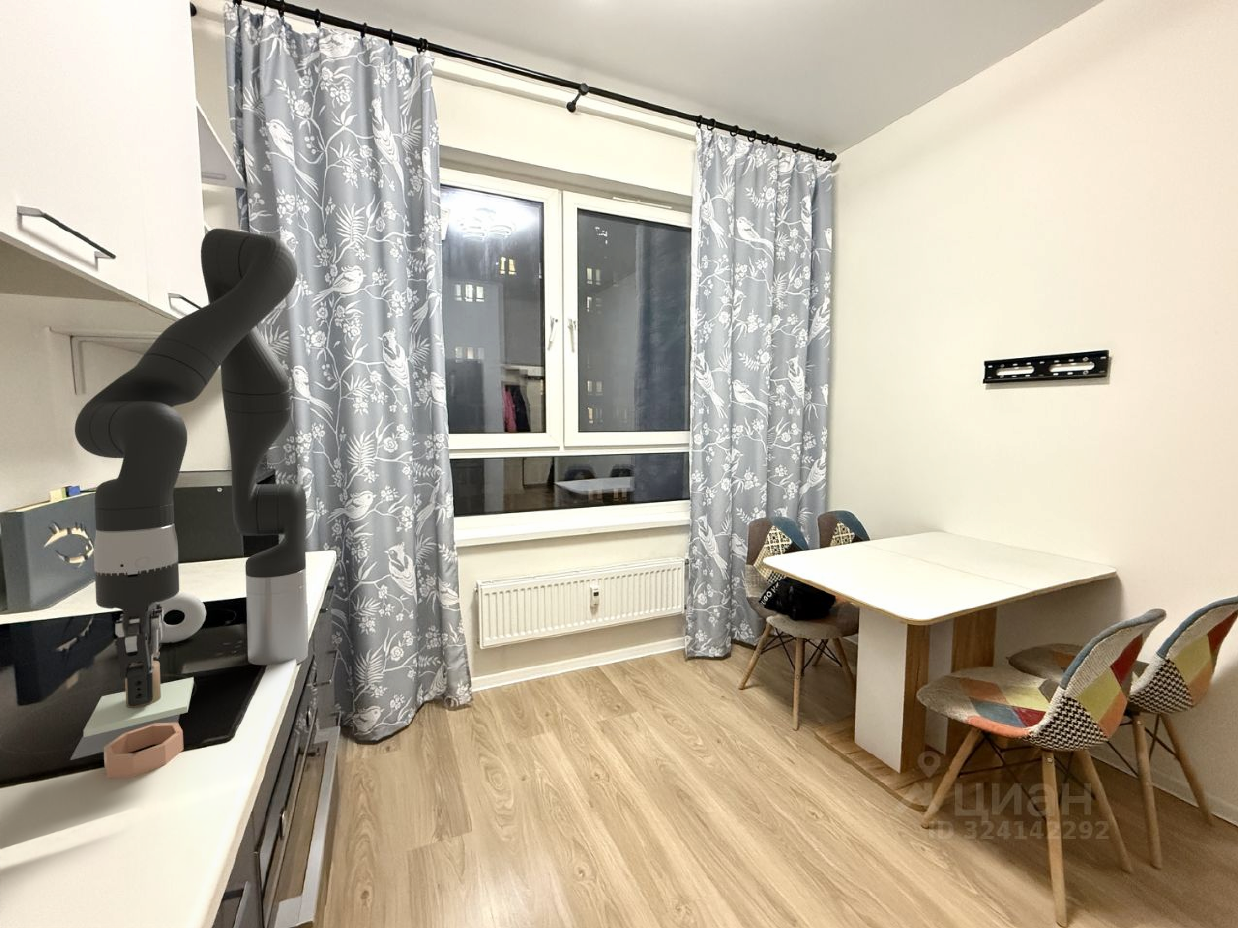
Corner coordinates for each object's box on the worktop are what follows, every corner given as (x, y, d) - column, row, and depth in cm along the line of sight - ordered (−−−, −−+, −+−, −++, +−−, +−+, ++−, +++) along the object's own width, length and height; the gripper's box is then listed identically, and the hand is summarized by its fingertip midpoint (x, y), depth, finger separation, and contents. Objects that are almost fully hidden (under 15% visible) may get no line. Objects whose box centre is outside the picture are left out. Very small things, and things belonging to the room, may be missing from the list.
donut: (207, 633, 106) (206, 586, 105) (206, 638, 103) (204, 591, 102) (142, 644, 100) (140, 595, 99) (139, 650, 97) (137, 600, 96)
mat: (91, 731, 72) (90, 721, 72) (183, 710, 78) (183, 700, 77) (70, 771, 64) (69, 759, 64) (175, 743, 69) (174, 733, 69)
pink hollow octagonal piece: (138, 752, 67) (137, 723, 67) (195, 750, 68) (194, 721, 68) (89, 789, 61) (87, 757, 60) (153, 786, 61) (151, 755, 61)
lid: (102, 702, 65) (100, 662, 64) (193, 682, 70) (192, 645, 70) (83, 737, 57) (81, 692, 57) (187, 712, 63) (185, 670, 62)
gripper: (108, 554, 66) (114, 682, 67) (79, 581, 55) (86, 734, 56) (183, 547, 70) (188, 667, 71) (171, 571, 59) (176, 713, 60)
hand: (143, 696), depth 64 cm, fingers closed on lid, 3 cm apart
